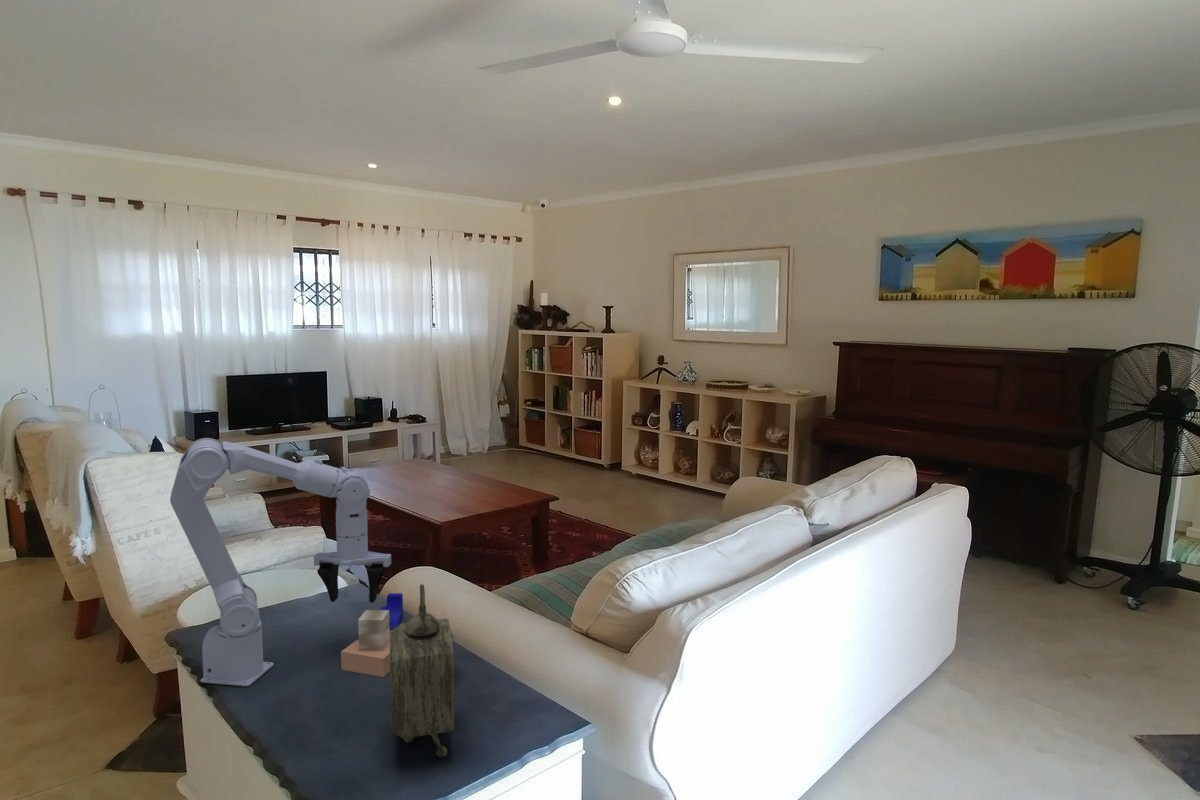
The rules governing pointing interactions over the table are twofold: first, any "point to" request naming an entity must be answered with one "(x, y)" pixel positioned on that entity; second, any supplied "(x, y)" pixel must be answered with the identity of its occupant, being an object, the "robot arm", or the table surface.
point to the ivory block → (374, 630)
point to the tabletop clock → (422, 677)
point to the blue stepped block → (394, 609)
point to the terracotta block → (366, 660)
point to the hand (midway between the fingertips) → (353, 600)
